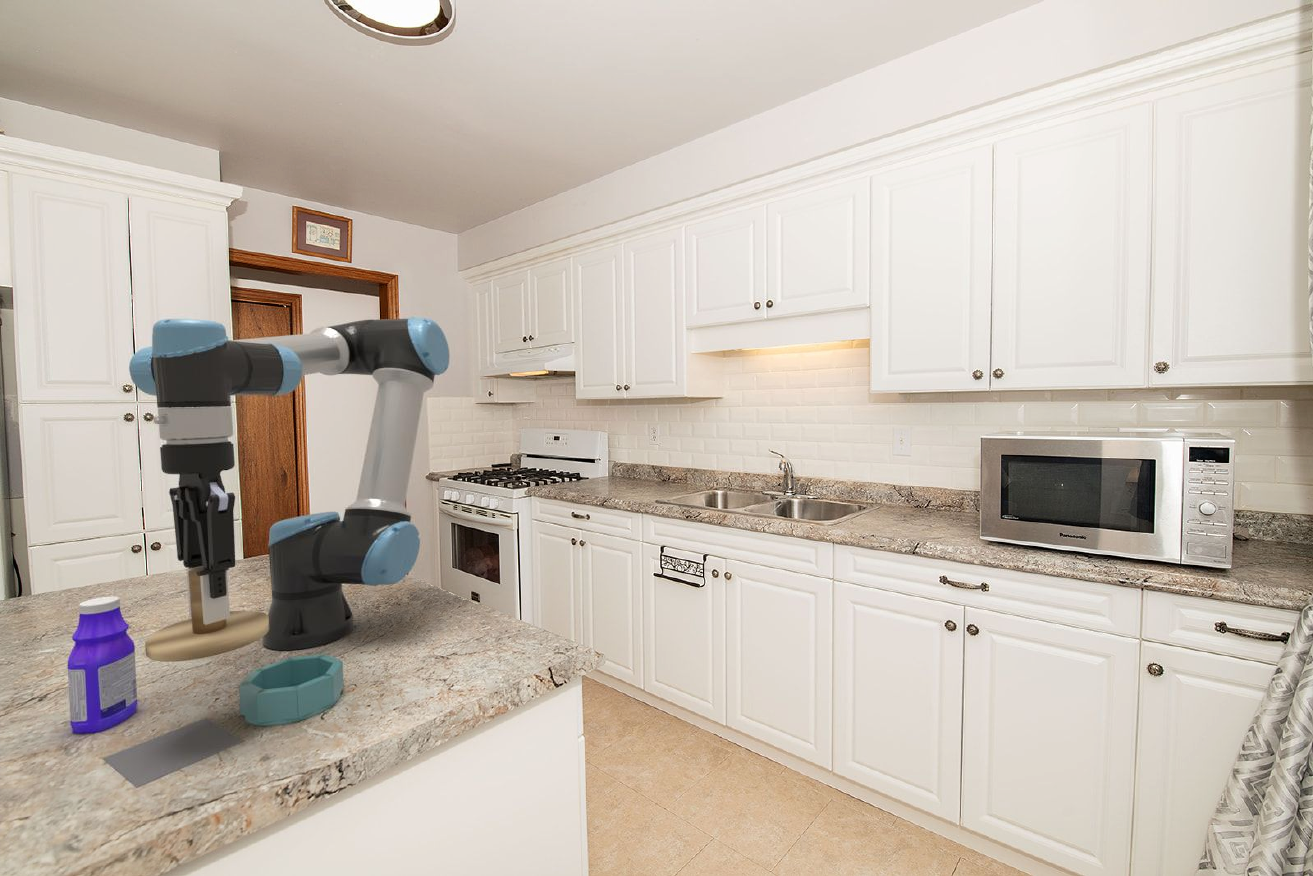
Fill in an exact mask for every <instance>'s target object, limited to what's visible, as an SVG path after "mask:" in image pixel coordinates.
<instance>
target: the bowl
mask: <svg viewBox="0 0 1313 876" xmlns="http://www.w3.org/2000/svg"><path fill="white" fill-rule="evenodd" d="M344 686H345V684H344V663H343V660H342V659H339V658H336V657H334V656H330V655H328V654H325V653H323V654H313V655H311V654H310V655H305V656H304V655H302V656H300V655H299V656H292V657H287V658H284V659H281V660H278V661H276V662H272V663H270V664H268V665H264V666H261V667H258V668H256V669H254V670H252V672H250V673H249V675H247V676H246V677H245V678H244V679H243V680H242V681H241V682H240V683H239V684H238V694H239V695H238V697H239V700H238V701H239V714H241V715H243V716H244V720H245V721H246V722H247V723H249V724H251V725H254V726H260V727H270V726H271V727H272V726H273V727H274V726H283V725H287V724H288V725H289V724H292V723H297V722H300V721H303V720H306V719H309V718H312V717H314V716H317V715H319V714H321V713H323V712H325V711H327V710H328V709H330V708H331V707H333V706H334V705H335V704H336V703H337V702H338V701H339V699H340V698H341V695H342V694H341V692H342V690H343V689H344Z"/></svg>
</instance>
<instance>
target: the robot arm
mask: <svg viewBox="0 0 1313 876" xmlns="http://www.w3.org/2000/svg"><path fill="white" fill-rule="evenodd" d="M151 335H152V338H151V341H152V342H151V343H152V345H151V346H146V347H143V348H140V349H139V350H138V351H136V352H135V353H134V354H133V356H132V357H131V359H130V361H129V367H128V370H129V375H130V378H131V381H132V383H133V384H134V385H135V387H136V388H138V390H140V391H141V392H143V393H145V394H148V395H149V396H152V397H153V396H154V397H156V406H157V415H158V416H154V417H153V419H152V420H153V421H152V422H153V423H154V425H158V431H159V432H158V433H159V439H161V440H162V441H166V442H165V443H164V444H162V445H161V446H160V447H159V450H160V451H159V452H160V466H161V468H160V469H161V471H162V473H164V474H166V475H178V476H179V477H178V486H177V487H171V488H170V489H169V491H168V494H169V496H170V500H171V504H172V513H173V522H174V523H173V525H174V534H175V544H176V553H177V555H176V556H177V557H176V558H177V560H178V561H179V562H181V561H182V565H183V566H184V568H185V571H186V572H185V573H186V585H187V587H186V589H187V598H188V600H187V601H188V613H189V614H188V615H189V619H192V617H191V603H190V590H189V576H188V571H190V570H192V569H195V568H199V567H203V571H198V572H197V575H198V576H200V582H201V596H202V610H203V624H205V625H207V624H211V623H214V622H218V621H221V620H225V619H228V618H230V610H231V609H230V598H229V597H230V595H229V584H228V582H229V581H228V579H229V578H228V570H229V569H231V568H235V566H236V543H235V522H234V521H235V520H234V519H235V517H234V515H235V514H234V510H235V509H234V507H235V504H236V503H235V500H236V495H235V493H234V492H226V490H225V486H224V484H223V481H222V475H221V473H222V472H223V471H228V470H232V469H234V468H235V463H236V462H235V449H234V448H235V445H234V443H232V441H229V438H231V437H233V436H234V425H233V424H234V423H233V411H232V410H233V408H232V400H231V398H232V397H231V396H268V397H269V396H272V397H275V396H277V395H278V396H279V395H280V396H281V395H287V394H290V393H291V392H294V391H295V390H296V389H297V388H298V387H299V385H300V384H301V381H302V378H303V376H307V375H308V376H309V375H312V374H319V373H320V374H322V375H325V376H336V375H362V376H363V375H364V376H372V378H373V379H374V380H375V381H376V383H377V384H378V385H377V386H378V387H377V392H376V398H375V401H374V402H375V403H374V408H373V413H372V418H371V423H370V426H369V427H370V429H369V432H368V439H367V443H366V447H365V448H366V449H365V454H364V459H363V462H362V463H363V464H362V468H361V469H362V470H361V473H360V478H359V479H360V480H359V484H358V489H357V495H356V499H355V501H354V502H353V503H350V505H349V506H347V507H346V508H345V509H344V513H343V519H342V520H341V517H340V514H339V512H337V511H325V512H318V513H311V514H306V515H300V516H294V517H290V518H286V519H282V520H280V521H277V522H276V521H275V523H274V524H272V526H271V527H270V528H269V532H268V533H269V536H268V537H269V539H268V544H267V547H268V556H269V574H270V584H271V585H270V587H271V588H270V589H271V602H270V606H269V608H268V613H267V615H268V617H269V631H268V632H267V634H266V635H264V636H263V637H262V645H263V646H264V647H265V648H266V649H267V648H268V649H270V650H275V651H276V650H280V651H290V650H302V649H308V648H314V647H317V646H321V645H322V646H323V645H325V644H329V643H331V642H335V641H338V640H339V639H342V638H344V637H345V636H347V635H349V634H350V633H351V632H352V631H353V630H354V626H355V624H354V615H353V612H352V610H351V608H350V606H349V603H348V600H347V598H346V595H345V594H344V591H343V585H344V584H345V585H362V586H363V585H365V586H370V587H371V586H372V587H377V586H386V585H387V586H388V585H394V584H397V583H399V582H401V581H402V580H403V579H405V577H406V576H407V575H408V574H409V573H410V572H411V570H412V569H413V567H414V566H415V564H416V562H417V559H418V555H419V551H420V545H421V539H420V537H419V536H420V532H419V529H418V527H416V526H415V525H414V524H413V523H412V522H411V520H412V515H411V513H410V512H409V511H408V509H407V508H406V499H407V494H408V489H409V488H408V487H409V483H410V477H411V470H412V465H413V459H414V452H415V449H416V448H415V447H416V442H417V441H416V440H417V435H418V429H419V423H420V417H421V413H422V408H423V407H422V406H423V400H424V395H425V393H426V392H428V391H430V390H431V389H432V388H434V387H433V386H434V382H435V376H440V375H442V374H444V373H446V371H447V370H448V368H449V365H450V347H449V344H448V341H447V338H446V335H445V333H444V331H443V330H442V328H441V327H440V325H439V324H438V323H437V322H436V321H434V320H432V318H431V319H430V318H428V317H427V318H425V317H422V318H421V317H420V318H419V317H413V316H411V317H409V318H389V319H387V318H385V319H380V318H379V319H364V320H363V319H362V320H357V321H352V322H347V323H346V322H345V323H342V324H337V325H331V326H321V327H318V328H315V329H313V330H311V331H310V332H309V333H302V334H291V335H290V334H289V335H276V336H267V337H255V338H243V339H233V340H230V339H229V336H227V330H226V327H225V326H224V325H223V324H222V323H220V322H217V321H213V320H207V319H206V320H205V319H192V318H165V319H161V320H158V321H156V322H155V323H154V324H153V327H152V333H151Z"/></svg>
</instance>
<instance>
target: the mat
mask: <svg viewBox="0 0 1313 876" xmlns="http://www.w3.org/2000/svg"><path fill="white" fill-rule="evenodd" d="M243 742H245V739H242V738H241V737H239V736H237V735H236V734H234V733H233V732H231V731H229V730H227V729H226V728H224V727H222V726H221V725H219V724H217V723H216V722H214V721H213V720H211V719H210V718H208V717H205V718H202V719H200V720H197V721H195V722H192V723H190V724H187V725H185V726H182V727H178V728H177V729H174V730H172V731H169V732H167V733H164V734H162V735H159V736H156V737H153V738H151V739H149V740H146V741H143V742H141V743H138V744H135V745H133V746H130V747H127V748H126V749H123V750H120V751H117V752H115V753H112V754H109V755H108V756H105V757H103V758H102V760H104V761H105V763H107V764H108V765H109V766H110V767H112V768H113V769H114V770H116V772H118V773H119V774H120V775H121V776H122V777H124V778H125V779H126V780H127V781H128V782H129V783H130V784H131V785H132V786H134V787H135V788H140V787H143V786H145V785H147V784H150V783H151V782H154V781H156V780H159V779H160V778H163V777H165V776H168V775H170V774H173V773H174V772H176V771H177V772H178V771H179V770H181V769H184V768H186V767H189V766H190V765H193V764H195V763H197V762H199V761H202V760H204V759H207V758H208V757H211V756H213V755H215V754H218V753H220V752H222V751H225V750H227V749H229V748H231V747H234V746H237V745H239V744H240V743H243Z"/></svg>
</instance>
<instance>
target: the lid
mask: <svg viewBox="0 0 1313 876" xmlns="http://www.w3.org/2000/svg"><path fill="white" fill-rule="evenodd" d="M198 571H203V567H199V568H195V569H192V570H190V571H188V576H189V590H190V603H191V617H192V618H188V619H185V620H182V621H178V622H175V623H173V624H170V625H168V626H165V627H163V628H160V629H158V630H157V631H155V632H153V633H151V634H150V635H149V636H148V637H147V638H146V639H145V640H144V641H145V642H144V647H145V656H146V658H147V659H149V660H151V661H154V662H165V663H166V662H167V663H169V662H170V663H174V662H185V661H194V660H199V659H205V658H210V657H215V656H218V655H219V656H220V655H223V654H226V653H230V652H233V651H236V650H238V649H241V648H244V647H246V646H248V645H249V646H250V645H251V644H253V643H255V642H257V641H259V640H261V639H263V636H264V635H266V634H267V632H268V631H269V617H268V613H265V612H262V611H256V610H232V611H230V618H228V619H225V620H221V621H218V622H214V623H211V624H207V625H205V624H203V610H202V596H201V582H200V576H198V575H197V572H198Z"/></svg>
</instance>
